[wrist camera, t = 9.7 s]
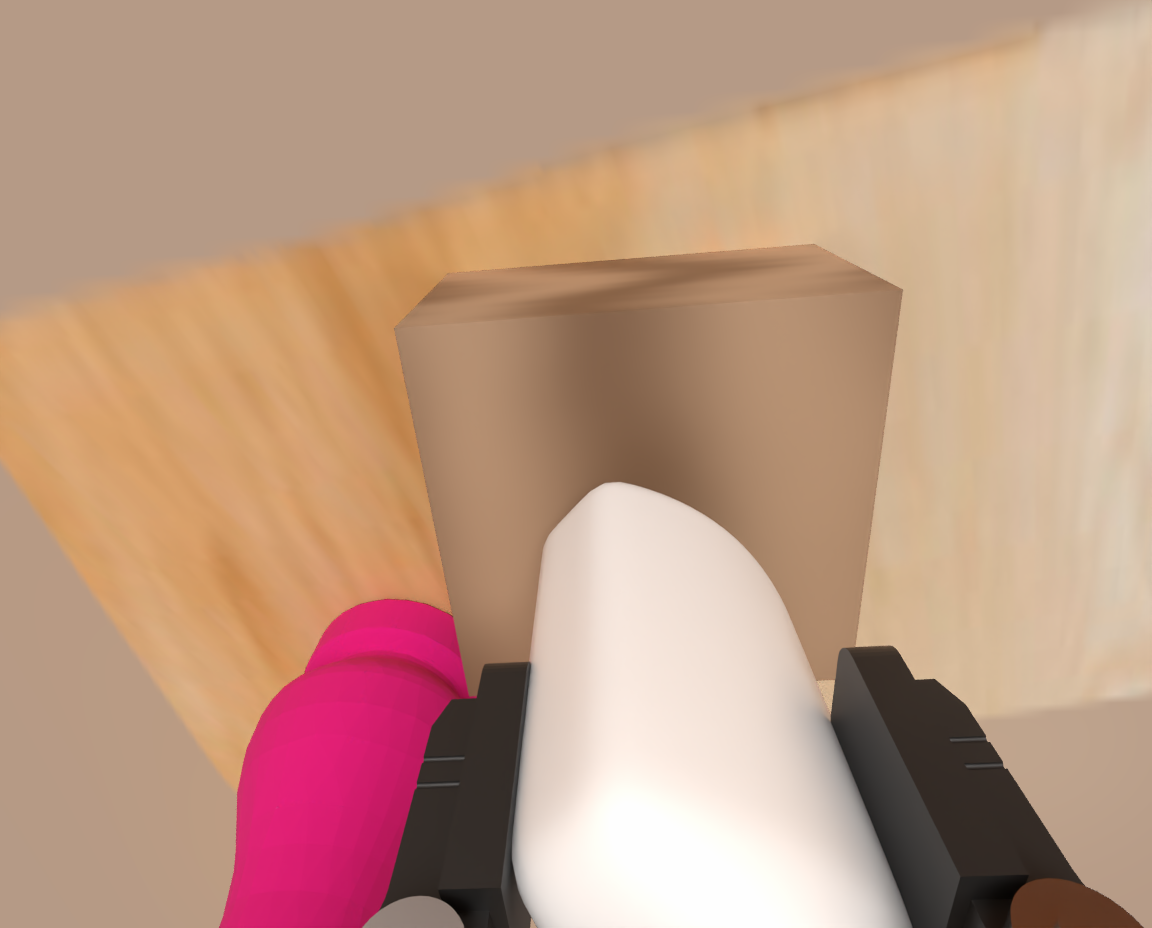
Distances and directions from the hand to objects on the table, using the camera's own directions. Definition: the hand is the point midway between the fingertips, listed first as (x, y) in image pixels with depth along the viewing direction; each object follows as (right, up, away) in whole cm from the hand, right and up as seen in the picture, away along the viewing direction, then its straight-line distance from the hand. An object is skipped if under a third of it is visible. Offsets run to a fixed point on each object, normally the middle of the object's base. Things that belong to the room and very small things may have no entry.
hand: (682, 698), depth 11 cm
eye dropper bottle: (0, +1, +4) cm, 4 cm away
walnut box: (0, +5, +10) cm, 11 cm away
